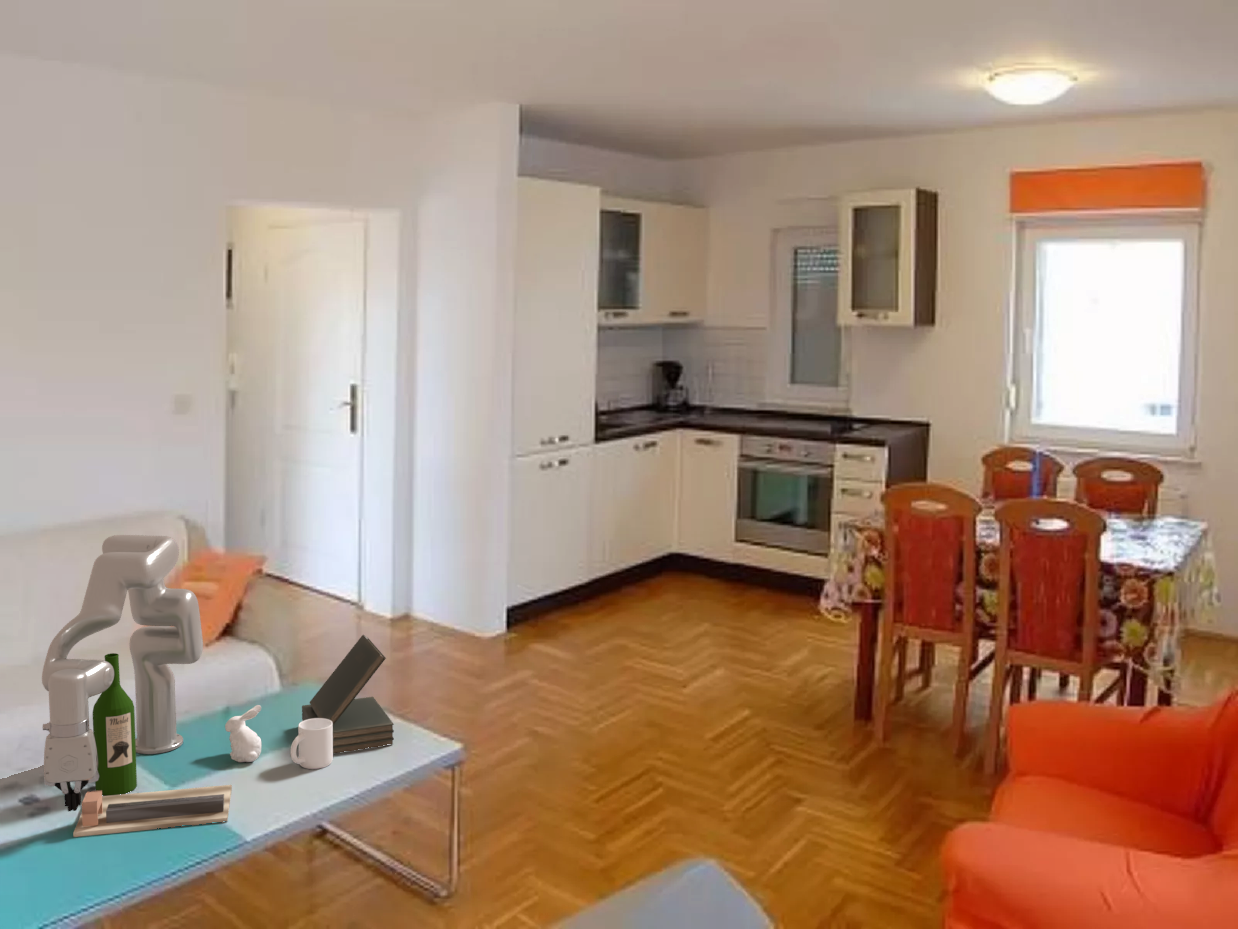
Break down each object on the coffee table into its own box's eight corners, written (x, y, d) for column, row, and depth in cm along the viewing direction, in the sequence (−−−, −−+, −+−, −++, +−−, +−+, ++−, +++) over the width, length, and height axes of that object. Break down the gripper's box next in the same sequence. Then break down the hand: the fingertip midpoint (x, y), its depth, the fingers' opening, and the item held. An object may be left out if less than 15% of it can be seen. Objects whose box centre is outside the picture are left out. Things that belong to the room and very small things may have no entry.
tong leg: (107, 817, 242) (107, 807, 241) (109, 814, 243) (108, 804, 243) (223, 807, 248) (223, 797, 248) (224, 804, 250) (224, 794, 249)
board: (88, 801, 252) (88, 786, 252) (231, 788, 261) (231, 773, 261) (73, 837, 235) (72, 820, 235) (227, 822, 244) (226, 806, 243)
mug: (302, 777, 268) (302, 736, 267) (279, 769, 273) (279, 729, 272) (339, 761, 278) (339, 722, 277) (317, 754, 283) (317, 715, 281)
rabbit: (222, 753, 282) (221, 708, 280) (258, 745, 288) (257, 700, 286) (239, 768, 273) (238, 722, 271) (276, 760, 279) (275, 714, 277)
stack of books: (302, 727, 302) (301, 638, 299) (373, 717, 310) (373, 631, 307) (317, 757, 281) (316, 662, 278) (393, 746, 290) (393, 654, 287)
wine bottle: (105, 800, 253) (100, 663, 249) (89, 788, 259) (83, 654, 255) (143, 788, 260) (139, 655, 256) (127, 777, 266) (122, 646, 262)
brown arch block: (87, 814, 243) (86, 791, 243) (102, 812, 244) (101, 790, 243) (82, 826, 237) (81, 803, 237) (97, 825, 238) (96, 802, 237)
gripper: (27, 736, 231) (31, 819, 234) (104, 731, 235) (107, 812, 238) (35, 723, 238) (39, 804, 241) (110, 718, 243) (113, 798, 245)
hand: (73, 808), depth 239 cm, fingers closed
